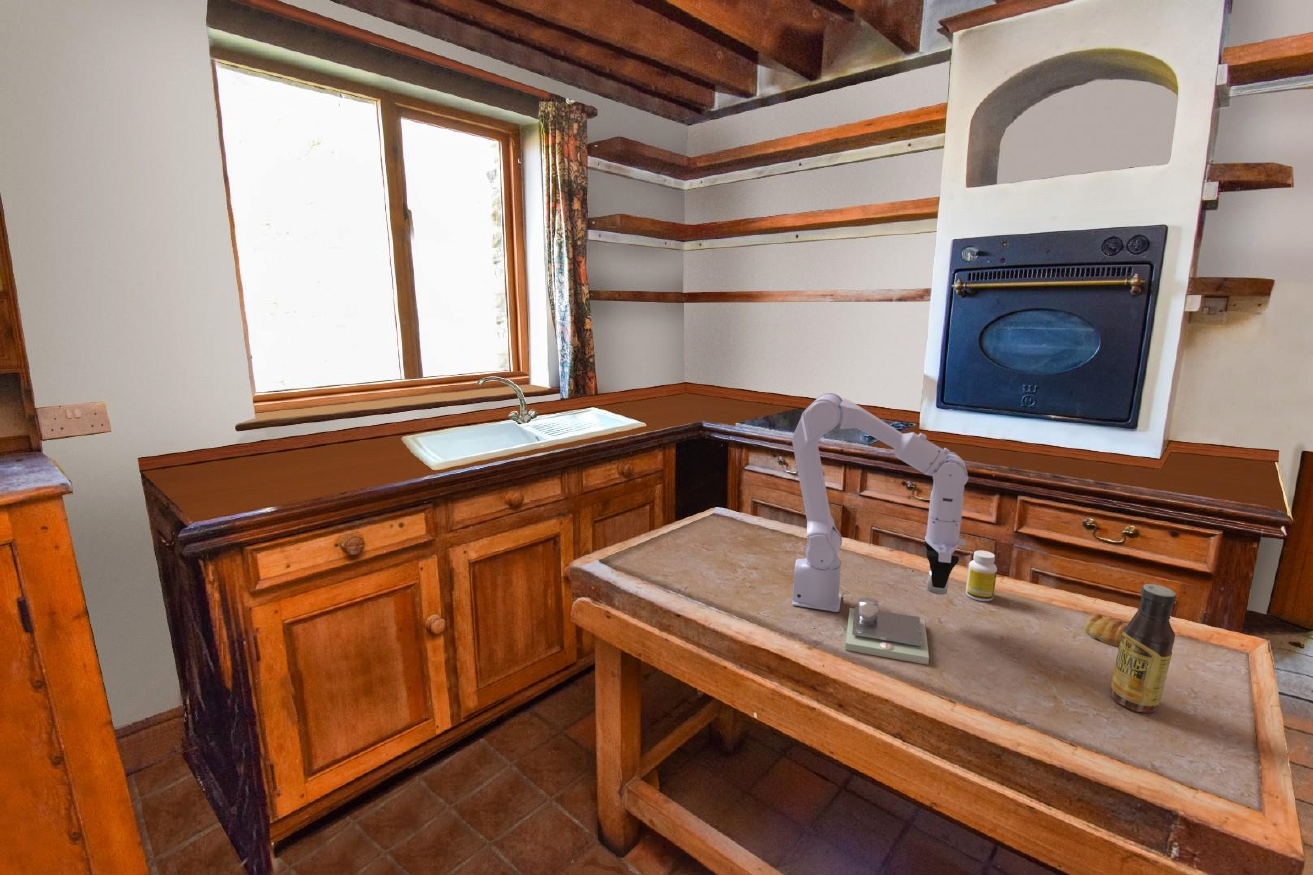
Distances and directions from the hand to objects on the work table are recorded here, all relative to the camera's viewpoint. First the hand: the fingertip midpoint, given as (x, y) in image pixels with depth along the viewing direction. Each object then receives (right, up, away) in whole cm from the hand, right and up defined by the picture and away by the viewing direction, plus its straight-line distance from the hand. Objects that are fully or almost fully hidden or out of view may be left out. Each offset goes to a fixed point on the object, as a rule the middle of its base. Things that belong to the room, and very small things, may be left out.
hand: (937, 582), depth 120 cm
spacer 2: (0, -2, 0) cm, 2 cm away
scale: (-12, -10, -4) cm, 15 cm away
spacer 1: (-15, -7, -3) cm, 16 cm away
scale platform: (-11, -9, -4) cm, 15 cm away
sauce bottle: (+21, -14, -23) cm, 34 cm away
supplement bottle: (+15, -6, +12) cm, 20 cm away
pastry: (+31, -10, -4) cm, 33 cm away
